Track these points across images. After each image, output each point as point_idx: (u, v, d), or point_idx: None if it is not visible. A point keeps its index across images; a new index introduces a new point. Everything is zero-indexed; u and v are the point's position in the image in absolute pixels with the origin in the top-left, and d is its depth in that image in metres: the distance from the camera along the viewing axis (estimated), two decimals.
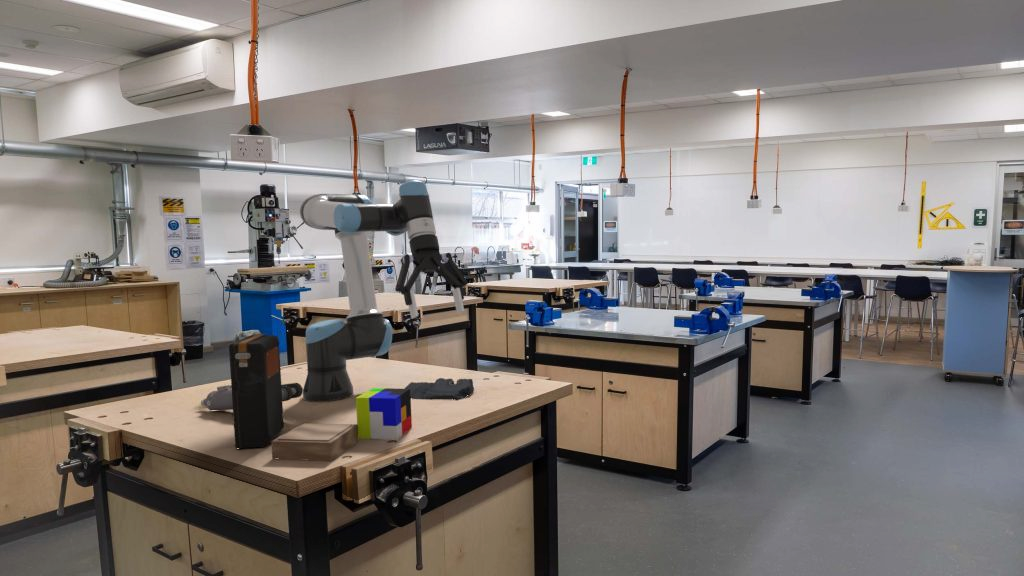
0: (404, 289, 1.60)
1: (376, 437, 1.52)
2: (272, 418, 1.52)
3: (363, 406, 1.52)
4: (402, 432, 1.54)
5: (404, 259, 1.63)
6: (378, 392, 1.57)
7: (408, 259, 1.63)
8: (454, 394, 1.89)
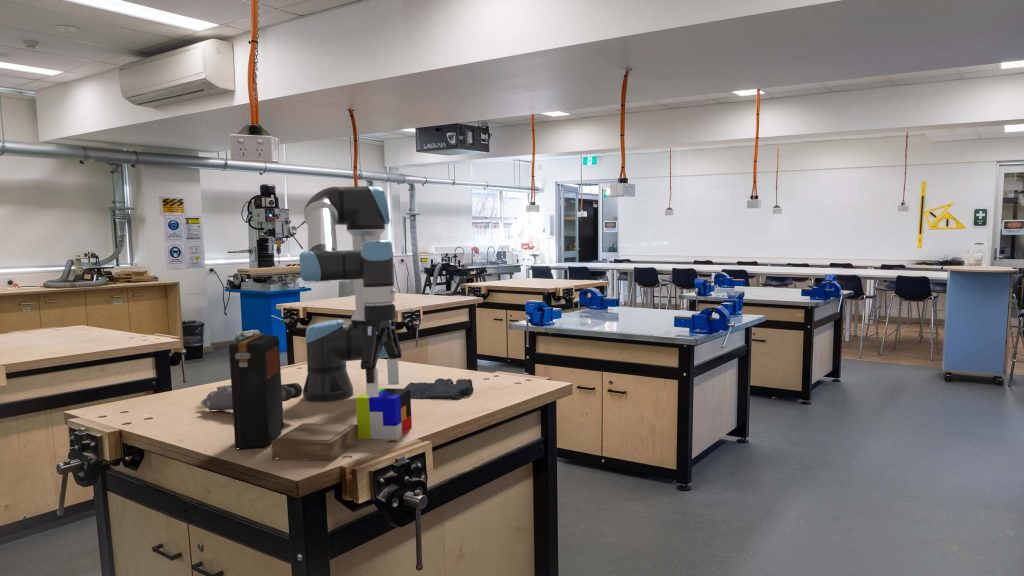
0: None
1: (376, 437, 1.52)
2: (272, 418, 1.52)
3: (363, 406, 1.52)
4: (402, 432, 1.54)
5: (372, 332, 1.48)
6: None
7: (375, 332, 1.49)
8: (453, 394, 1.89)
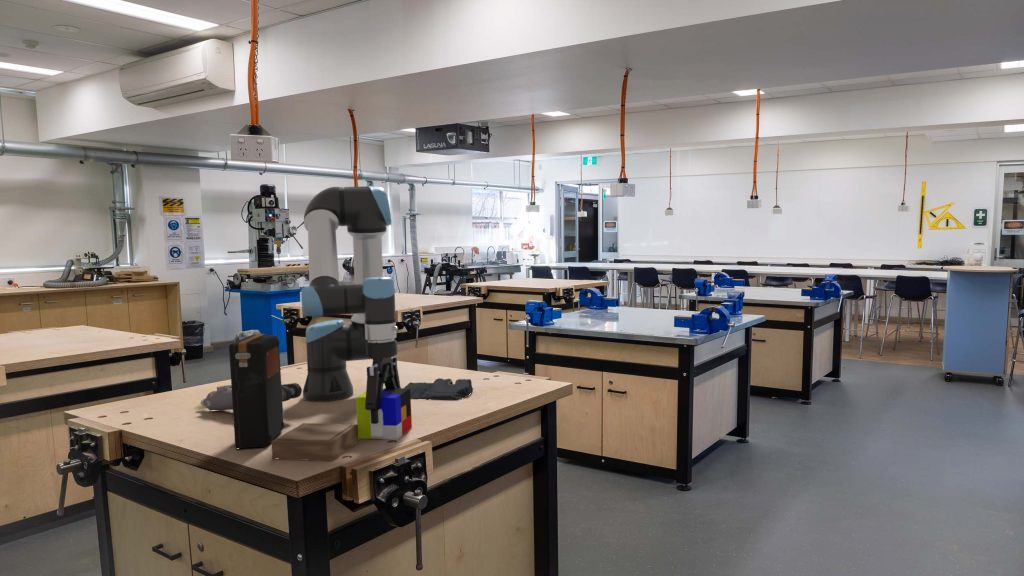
0: (375, 408, 1.49)
1: (376, 437, 1.52)
2: (272, 418, 1.52)
3: (363, 406, 1.52)
4: (402, 432, 1.54)
5: (374, 372, 1.49)
6: None
7: (377, 372, 1.50)
8: (452, 394, 1.89)
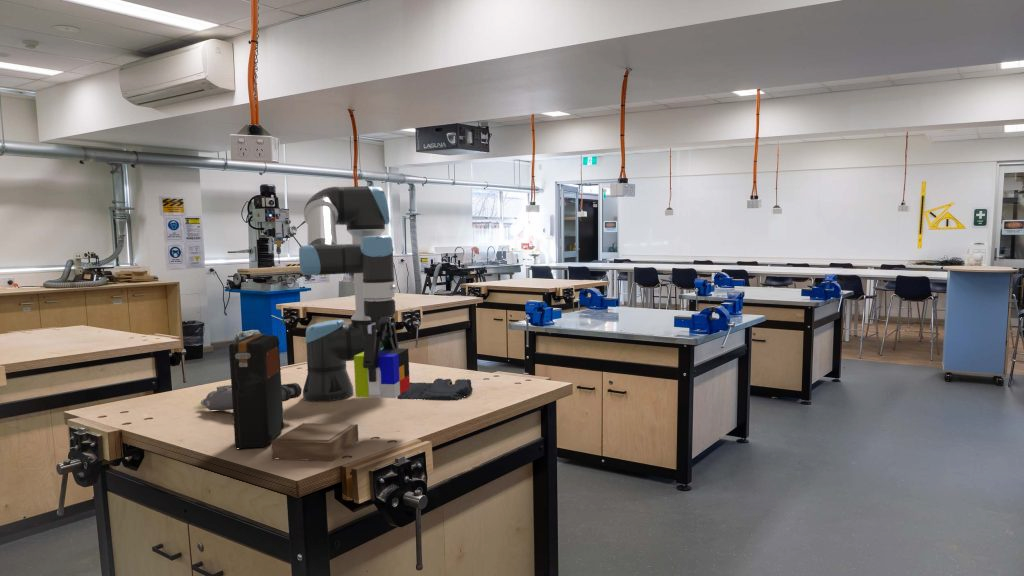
0: (373, 366, 1.49)
1: (374, 395, 1.52)
2: (272, 418, 1.52)
3: (361, 365, 1.52)
4: (400, 391, 1.54)
5: (372, 331, 1.48)
6: None
7: (375, 330, 1.49)
8: (452, 395, 1.88)
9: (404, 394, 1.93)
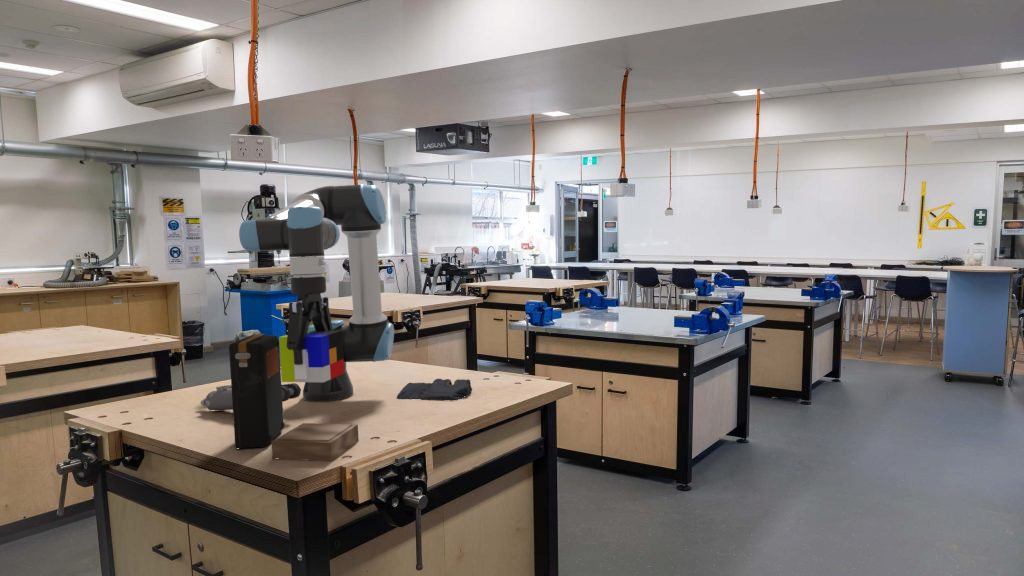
0: (298, 347, 1.36)
1: (301, 380, 1.39)
2: (272, 418, 1.52)
3: None
4: (330, 376, 1.41)
5: (297, 308, 1.36)
6: None
7: (301, 308, 1.37)
8: (451, 395, 1.88)
9: (403, 394, 1.92)
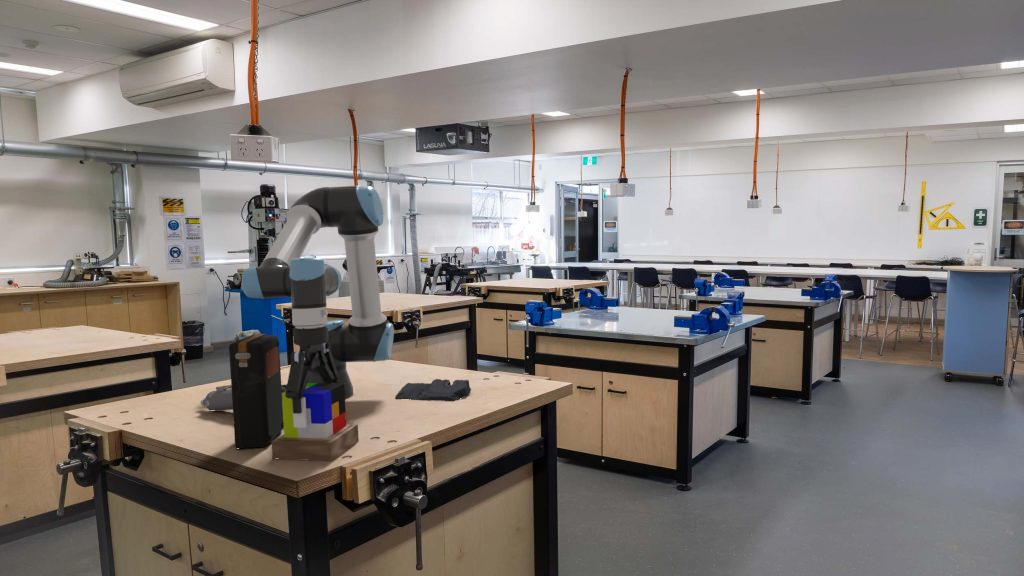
0: (297, 396, 1.35)
1: (304, 436, 1.40)
2: (272, 418, 1.52)
3: (289, 402, 1.40)
4: (333, 431, 1.42)
5: (299, 358, 1.37)
6: (308, 387, 1.45)
7: (303, 358, 1.37)
8: (449, 395, 1.88)
9: (402, 394, 1.92)
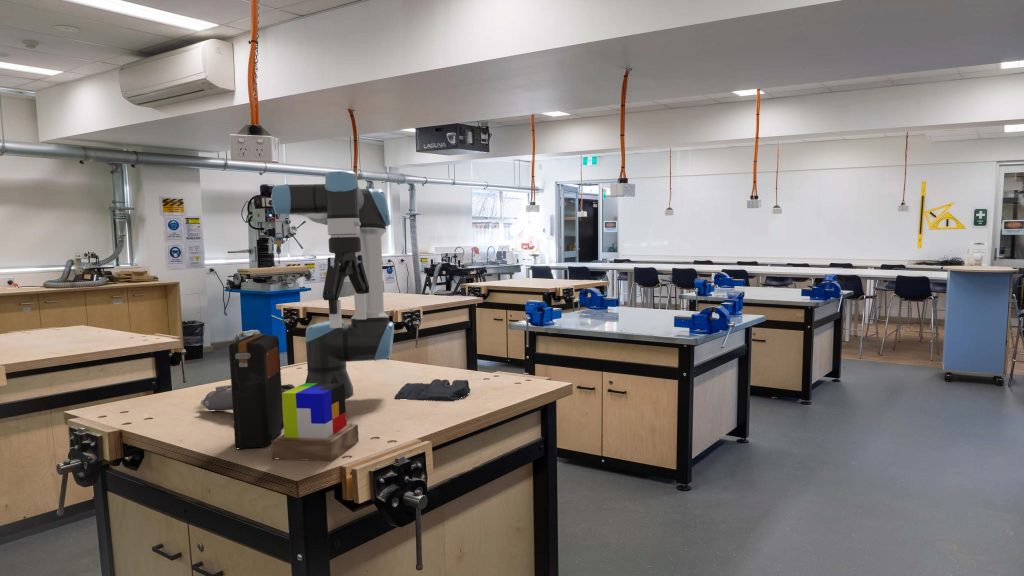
0: (333, 297, 1.46)
1: (304, 436, 1.40)
2: (272, 418, 1.52)
3: (289, 402, 1.40)
4: (333, 431, 1.42)
5: (334, 262, 1.47)
6: (308, 387, 1.45)
7: (338, 263, 1.48)
8: (449, 395, 1.88)
9: (401, 394, 1.92)
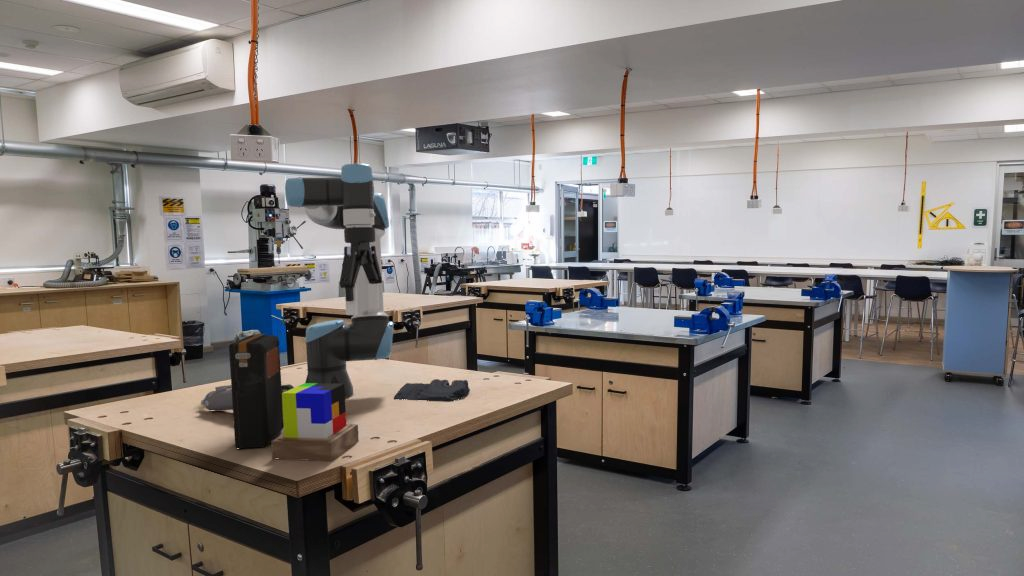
0: (350, 285, 1.51)
1: (304, 436, 1.40)
2: (272, 418, 1.52)
3: (289, 402, 1.40)
4: (333, 431, 1.42)
5: (351, 251, 1.52)
6: (308, 387, 1.45)
7: (354, 252, 1.53)
8: (448, 396, 1.87)
9: (400, 395, 1.92)
